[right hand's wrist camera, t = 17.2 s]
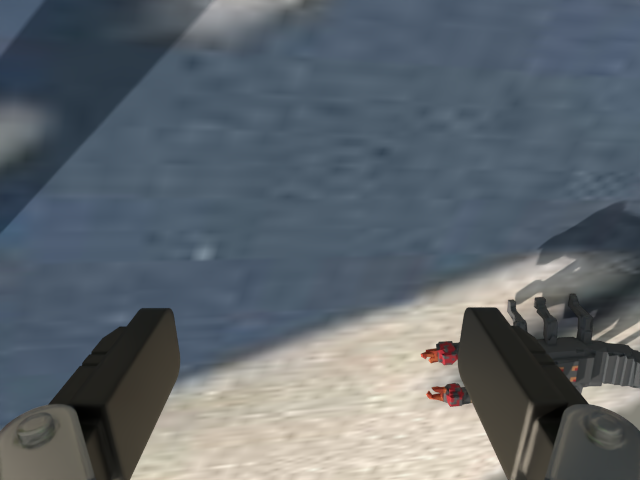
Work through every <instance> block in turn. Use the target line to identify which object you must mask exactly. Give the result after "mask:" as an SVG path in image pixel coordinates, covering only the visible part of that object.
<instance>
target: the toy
mask: <svg viewBox="0 0 640 480" xmlns="http://www.w3.org/2000/svg"><path fill="white" fill-rule="evenodd" d="M545 302H546V299H545V298H544V297H537V298H535V303H534V307H535V308H536V309H538V310H537V313H538V314H539V315H540V316H541V317H542V318H543V320H544V333H543V335H544V339H536V340H537V341H538V342H539V343H540V345H541V346H542V347H543V348H544V349H545V351H546V354H549V356H550V357H551V358H552V359H553V361H554V362H555V365H558V367H559V368H560V369H561V370H562V372H563V373H564V374H565V375H566V377H567V378H568V379H569V380H570V382H571V383H572V384H573V385H574V386H575V388H576V389H577V390H578V391H579V393H580V394H581V392H582V389H583V387H588V386H601V385H602V383H604V384H606V383H608V384H614V385H621V386H630V387H633V388H640V352H638V351H636V350H633V349H631V348H630V347H629V346H628V345H623V344H611V343H605V342H602V341H593V340H591V339H592V326H593V317H592V316H591V315H590V314H589V313H587V312H586V311H585V310H584V309H583V308H582V307H581V306H580V305H579V303H578V299H577V296H576V294H570V299H569V307H570V308H571V309H572V310H573V312H574V313H575V314H576V316H577V317H578V332H577V338H574V337H560V338H557V320H556V319H555V318H554V317H553V316H552V315H550V313H549V312H548V310H547V308H546V305H545ZM507 312H508V313H509V315H510V316H511V318H512V319H513V321H514V322H513V326H519V327H520V328H522V329H523V330H524V331H526V332H527V323H526V321H525V320H524V319H523V318H522V317H521V315H520V314H519V313H518V312H517V311H516V302H515V301H514V300H508V310H507ZM459 344H460V342H459V343H452V341H446V342H439V343H438V344H436V349H428V350H426V352H424V353H422V354H421V357H423V358H425V359H426V358H427V357H431V358H430V359H429V361H430V363H434V362H438V361H439V362H441V363H443V365H452V364H453V363H454V362H455V361H456V360H458V351H459ZM432 389H433V390H434V391H435V392H439V394H434V395H432V394H431V393H430V391H428V393H427V394H426V395H427V397H428V398H429V399H435V400H440V401H443V402H446V403H448V404H449V406H450V407H453V406H462V404H469V403H472V401H471V399H470V397H469V394H468V392H467V390H466V388H465V387H460V385H459V384H456V383H452V384H447V385H446V386H445V387H432Z"/></svg>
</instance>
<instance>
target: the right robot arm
mask: <svg viewBox="0 0 640 480" xmlns="http://www.w3.org/2000/svg"><path fill="white" fill-rule="evenodd" d="M458 368H459V373H460V377H461V379H462V381H463V384H464V386H465V388H466V390H467V392H468V394H469V397H470V399H471V401H472V403H473V405H474V407H475V410H476V412H477V414H478V416H479V418H480V420H481V423H482V425H483V427H484V429H485V431H486V433H487V436H488V438H489V440H490V442H491V444H492V446H493V449H494V451H495V453H496V455H497V457H498V459H499V462H500V464H501V466H502V468H503V470H504V472H505V475H506V477H507V479H508V480H640V431H639V430H638V429H637V428H636V427H635V426H634V425H633V424H632V423H630V422H629V421H628V420H626V419H625V418H623V417H622V416H620V415H618V414H617V413H615V412H612V411H610V410H608V409H605V408H602V407H599V406H595V405H589V404H588V402H587V401H586V400H585V399H584V398H583V396H582V395H581V394H580V393H579V391H578V390H577V389H576V388H575V386H574V385H573V384H572V383H571V382H570V380H569V379H568V378H567V377H566V375H565V374H564V373H563V372H562V370H561V369H560V368H559V367H558V365H555V362H554V361H553V359H552V358H551V357H550V356H549V354H546V351H545V349H544V348H543V347H542V346H541V345H540V343H539V342H538V341H537V340H536V338H535V337H533V336H532V335H530V334H529V333H527V332H526V331H524V330H523V329H522V328H520V327H519V326H511V325H510V324H509V323H508V322H507V320H506V319H505V318H504V316H503V315H502V314H501V312H500V311H499V310H498V309H497V308H467V309H466V310H465V313H464V318H463V324H462V331H461V338H460V344H459V351H458ZM179 369H180V352H179V346H178V339H177V333H176V326H175V320H174V314H173V312H172V310H171V309H170V308H142V309H140V310H139V311H138V312H137V314H136V315H135V316H134V318H133V319H132V320H131V322H130V323H129V324H128V325H127V327H119V328H117V329H116V330H114V331H113V332H111V333H110V334H108V335H107V336H105V337H104V338H102V340H101V341H100V342H99V343H98V345H97V346H96V347H95V348H94V349H93V351H92V354H91V355H89V356H88V357H87V358H86V359H85V360H84V362H83V363H82V366H80V367H79V368H78V369H77V370H76V371H75V373H74V374H73V375H72V376H71V378H70V379H69V380H68V381H67V382H66V384H65V385H64V386H63V387H62V389H61V390H60V391H59V392H58V393H57V395H56V396H55V397H54V398H53V400H52V401H51V402H50V403H49V404H48V405H45V406H41V407H38V408H35V409H32V410H30V411H28V412H25V413H23V414H22V415H20V416H18V417H17V418H15V419H13V420H12V421H11V422H9V423H8V424H7V425H6V426H5V427H4V428H3V429H2V430H1V431H0V480H130V478H131V476H132V474H133V472H134V470H135V468H136V465H137V463H138V461H139V459H140V457H141V455H142V453H143V450H144V448H145V446H146V444H147V442H148V440H149V438H150V435H151V433H152V431H153V429H154V427H155V425H156V423H157V420H158V418H159V416H160V414H161V412H162V410H163V408H164V405H165V403H166V401H167V399H168V397H169V395H170V393H171V391H172V388H173V386H174V384H175V382H176V380H177V377H178V374H179Z"/></svg>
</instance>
